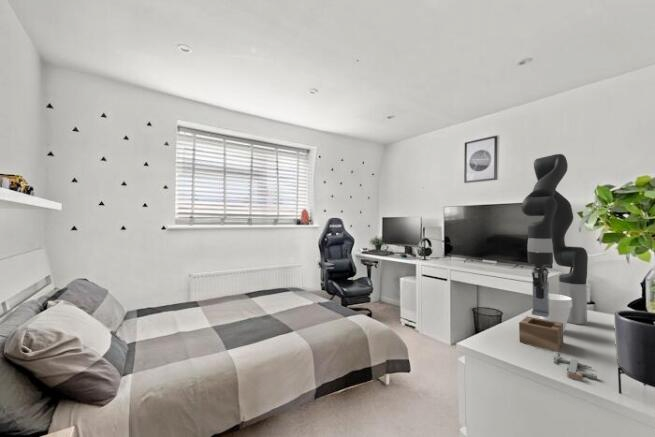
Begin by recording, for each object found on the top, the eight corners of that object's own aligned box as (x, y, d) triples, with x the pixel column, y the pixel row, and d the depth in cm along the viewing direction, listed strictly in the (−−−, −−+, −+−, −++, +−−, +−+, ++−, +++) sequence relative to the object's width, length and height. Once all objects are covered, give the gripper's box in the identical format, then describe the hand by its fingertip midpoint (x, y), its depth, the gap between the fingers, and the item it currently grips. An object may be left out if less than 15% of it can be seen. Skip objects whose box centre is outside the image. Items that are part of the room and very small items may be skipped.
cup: (570, 328, 118) (569, 295, 119) (575, 338, 108) (574, 301, 109) (534, 323, 125) (533, 291, 126) (535, 331, 115) (534, 297, 115)
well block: (527, 334, 112) (526, 316, 112) (563, 342, 104) (562, 323, 104) (519, 342, 104) (519, 322, 105) (557, 351, 96) (557, 330, 97)
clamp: (596, 379, 76) (549, 366, 83) (596, 387, 76) (549, 374, 83) (597, 360, 87) (555, 350, 93) (597, 367, 86) (555, 357, 93)
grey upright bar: (534, 312, 108) (534, 280, 108) (549, 314, 105) (548, 281, 105) (531, 314, 105) (531, 281, 105) (546, 317, 102) (546, 283, 102)
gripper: (532, 249, 113) (533, 293, 113) (522, 251, 104) (523, 299, 103) (556, 250, 108) (557, 296, 107) (548, 252, 99) (549, 303, 98)
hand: (540, 297), depth 105 cm, fingers closed on grey upright bar, 2 cm apart
